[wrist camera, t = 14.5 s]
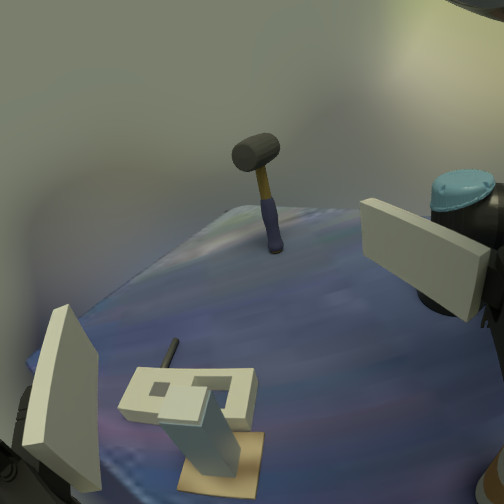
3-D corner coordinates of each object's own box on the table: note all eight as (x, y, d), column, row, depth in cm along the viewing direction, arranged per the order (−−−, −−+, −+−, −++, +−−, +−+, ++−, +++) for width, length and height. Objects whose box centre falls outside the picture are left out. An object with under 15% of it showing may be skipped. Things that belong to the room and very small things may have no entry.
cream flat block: (163, 342, 59) (156, 328, 58) (264, 338, 55) (261, 323, 54) (127, 420, 43) (117, 407, 41) (250, 431, 39) (244, 417, 37)
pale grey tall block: (208, 447, 37) (168, 384, 30) (241, 448, 36) (208, 385, 30) (201, 474, 33) (155, 418, 27) (236, 477, 32) (198, 422, 26)
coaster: (195, 431, 40) (194, 429, 40) (264, 434, 38) (264, 432, 38) (178, 491, 31) (176, 489, 31) (255, 499, 29) (254, 498, 29)
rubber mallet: (274, 239, 90) (252, 132, 77) (298, 240, 86) (279, 129, 73) (253, 262, 81) (225, 143, 68) (280, 264, 77) (255, 139, 64)
